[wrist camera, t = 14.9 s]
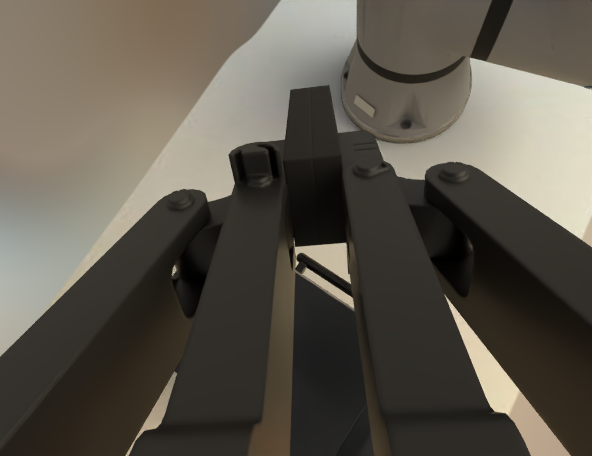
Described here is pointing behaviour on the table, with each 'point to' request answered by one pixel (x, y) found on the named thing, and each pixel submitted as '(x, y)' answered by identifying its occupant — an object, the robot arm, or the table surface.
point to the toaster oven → (326, 371)
